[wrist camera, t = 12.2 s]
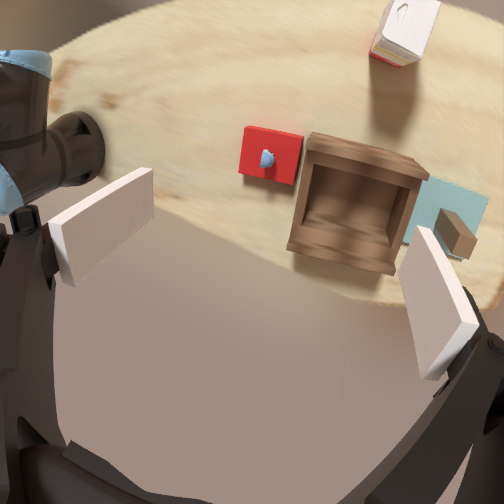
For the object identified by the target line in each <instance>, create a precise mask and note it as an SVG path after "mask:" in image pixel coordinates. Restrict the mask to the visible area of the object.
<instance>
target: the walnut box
mask: <svg viewBox="0 0 504 504" xmlns="http://www.w3.org/2000/svg"><path fill="white" fill-rule="evenodd" d="M305 149H306V153H305V159H304V164H303V170H302V176H301V181H300V186H299V192H298V197H297V202H296V208H295V213H294V218H293V223H292V228H291V233H290V238H289V241H288V244H287V248H286V250H288V251H292V252H296V253H301V254H305V255H309V256H313V257H317V258H321V259H326V260H330V261H334V262H338V263H342V264H346V265H350V266H354V267H358V268H363V269H367V270H371V271H375V272H379V273H383V274H387V275H391V276H394V274H395V272H396V269H395V265H394V262H395V259H396V256H397V254H398V251H399V249H400V246H401V243H402V241H403V238H404V235H405V233H406V230H407V227H408V224H409V221H410V218H411V215H412V212H413V209H414V206H415V203H416V200H417V197H418V194H419V191H420V187H421V184H422V181H423V180H425V181H428V179H429V176H430V174H429V173H428V172H427V171H426V170H425V169H424V168H423V167H421V166H420V165H419V164H418V163H417V162H416V161H415V160H414V159H413V158H410V157H407V156H403V155H400V154H397V153H394V152H390V151H387V150H383V149H380V148H376V147H373V146H369V145H365V144H361V143H357V142H353V141H349V140H345V139H341V138H337V137H333V136H328V135H324V134H319V133H314V132H312V133H311V135H310V136H309V138H308V140H307V141H306V147H305Z"/></svg>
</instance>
